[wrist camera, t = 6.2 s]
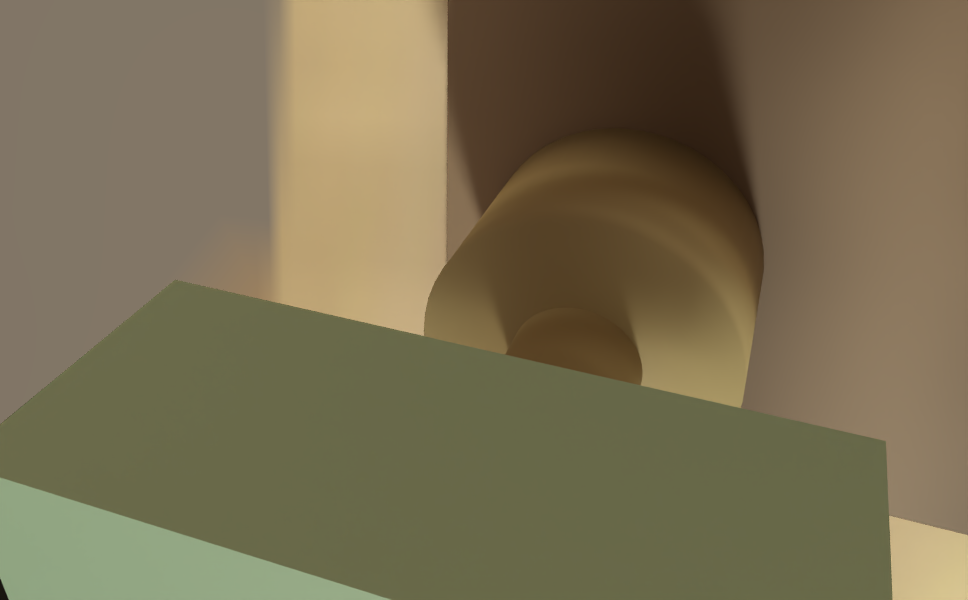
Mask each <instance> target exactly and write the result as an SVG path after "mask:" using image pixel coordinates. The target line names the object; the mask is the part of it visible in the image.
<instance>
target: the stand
mask: <svg viewBox="0 0 968 600" xmlns="http://www.w3.org/2000/svg"><path fill="white" fill-rule="evenodd" d="M424 336H425V337H430V338H434V339H438V340H443V341H447V342H452V343H456V344H460V345H465V346H469V347H474V348H478V349H482V350H487V351H491V352H496V353H500V354H504V355H509V356H513V357H518V358H522V359H527V360H531V361H535V362H540V363H544V364H549V365H553V366H557V367H562V368H566V369H571V370H575V371H579V372H584V373H588V374H593V375H597V376H601V377H606V378H610V379H615V380H619V381H623V382H628V383H632V384H637V385H641V386H645V387H650V388H654V389H659V390H663V391H668V392H672V393H676V394H681V395H685V396H690V397H694V398H698V399H703V400H707V401H712V402H716V403H720V404H725V405H729V406H734V407H738V408H742V409H747V410H751V411H756V412H760V413H764V414H769V415H773V416H778V417H782V418H786V419H791V420H795V421H800V422H804V423H809V424H813V425H817V426H822V427H826V428H831V429H835V430H839V431H844V432H848V433H853V434H857V435H861V436H866V437H870V438H875V439H879V440H883V441H886V455H887V480H888V504H889V516H893V517H897V518H901V519H905V520H909V521H913V522H917V523H921V524H925V525H930V526H934V527H938V528H942V529H946V530H950V531H954V532H958V533H962V534H966V535H968V0H448V126H447V264H446V265H445V267H444V268H443V270H442V271H441V273H440V275H439V276H438V278H437V280H436V281H435V283H434V286H433V288H432V291H431V293H430V296H429V298H428V303H427V307H426V312H425V322H424Z"/></svg>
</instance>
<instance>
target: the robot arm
mask: <svg viewBox="0 0 968 600" xmlns="http://www.w3.org/2000/svg"><path fill="white" fill-rule="evenodd" d="M0 600H9V599H8V596H7V594H6V591H5V589H4V586H3V584H2V581H1V579H0Z"/></svg>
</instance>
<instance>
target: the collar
mask: <svg viewBox="0 0 968 600" xmlns="http://www.w3.org/2000/svg"><path fill="white" fill-rule="evenodd" d="M0 579H1V581H2V584H3V586H4V589H5V591H6V594H7V596H8V599H9V600H892V578H891V554H890V529H889V504H888V480H887V455H886V441H883V440H879V439H875V438H870V437H866V436H861V435H857V434H853V433H848V432H844V431H839V430H835V429H831V428H826V427H822V426H817V425H813V424H809V423H804V422H800V421H795V420H791V419H786V418H782V417H778V416H773V415H769V414H764V413H760V412H756V411H751V410H747V409H742V408H738V407H734V406H729V405H725V404H720V403H716V402H712V401H707V400H703V399H698V398H694V397H690V396H685V395H681V394H676V393H672V392H668V391H663V390H659V389H654V388H650V387H645V386H641V385H637V384H632V383H628V382H623V381H619V380H615V379H610V378H606V377H601V376H597V375H593V374H588V373H584V372H579V371H575V370H571V369H566V368H562V367H557V366H553V365H549V364H544V363H540V362H535V361H531V360H527V359H522V358H518V357H513V356H509V355H504V354H500V353H496V352H491V351H487V350H482V349H478V348H474V347H469V346H465V345H460V344H456V343H452V342H447V341H443V340H438V339H434V338H430V337H425V336H421V335H416V334H412V333H408V332H403V331H399V330H394V329H390V328H386V327H381V326H377V325H372V324H368V323H363V322H359V321H355V320H350V319H346V318H341V317H337V316H333V315H328V314H324V313H319V312H315V311H311V310H306V309H302V308H297V307H293V306H289V305H284V304H280V303H275V302H271V301H267V300H262V299H258V298H253V297H249V296H245V295H240V294H235V293H231V292H227V291H222V290H218V289H213V288H209V287H205V286H200V285H196V284H192V283H187V282H183V281H178V280H174V281H173V282H172V283H171V284H170V285H168V286H167V287H166V288H165V289H164V290H162V291H161V292H160V293H159V294H157V295H156V296H155V297H154V298H153V299H151V300H150V301H149V302H148V303H147V304H145V305H144V306H143V307H142V308H141V309H139V310H138V311H137V312H136V313H134V314H133V315H132V316H131V317H130V318H129V319H127V320H126V321H125V322H123V323H122V324H121V325H120V326H119V327H117V328H116V329H115V330H114V331H113V332H111V333H110V334H109V335H108V336H107V337H105V338H104V339H103V340H102V341H101V342H99V343H98V344H97V345H96V346H94V347H93V348H92V349H91V350H90V351H88V352H87V353H86V354H85V355H84V356H82V357H81V358H80V359H79V360H77V361H76V362H75V363H74V364H73V365H71V366H70V367H69V368H68V369H67V370H65V371H64V372H63V373H62V374H60V375H59V376H58V377H57V378H56V379H55V380H53V381H52V382H51V383H50V384H48V385H47V386H46V387H45V388H44V389H42V390H41V391H40V392H39V393H38V394H36V395H35V396H34V397H33V398H31V399H30V400H29V401H28V402H27V403H25V404H24V405H23V406H22V407H20V408H19V409H18V410H17V411H16V412H14V413H13V414H12V415H11V416H10V417H8V418H7V419H6V420H5V421H4V422H2V423H1V424H0Z"/></svg>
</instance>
